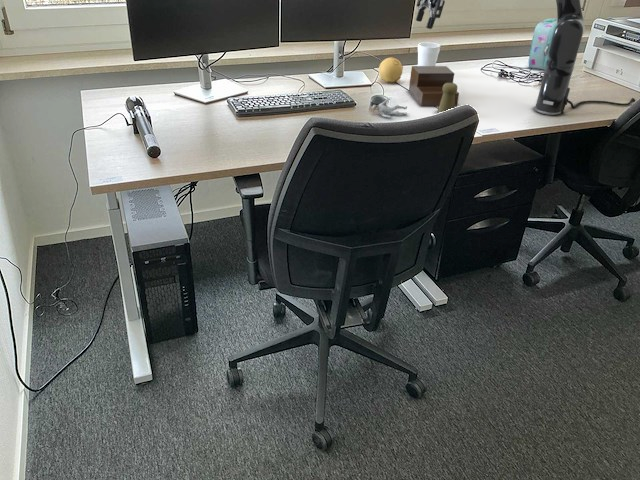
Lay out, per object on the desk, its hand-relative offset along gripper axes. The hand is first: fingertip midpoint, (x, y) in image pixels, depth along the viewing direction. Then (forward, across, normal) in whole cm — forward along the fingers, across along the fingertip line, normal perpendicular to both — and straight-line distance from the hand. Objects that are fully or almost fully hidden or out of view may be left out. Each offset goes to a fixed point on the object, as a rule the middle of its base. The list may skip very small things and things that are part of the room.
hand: (423, 24), depth 199 cm
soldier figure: (+27, -21, +14) cm, 37 cm away
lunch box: (+15, +24, -85) cm, 90 cm away
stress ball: (+28, +15, -2) cm, 32 cm away
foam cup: (+26, +21, -22) cm, 39 cm away
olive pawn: (+24, -24, -6) cm, 34 cm away
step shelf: (+24, -8, -9) cm, 27 cm away
